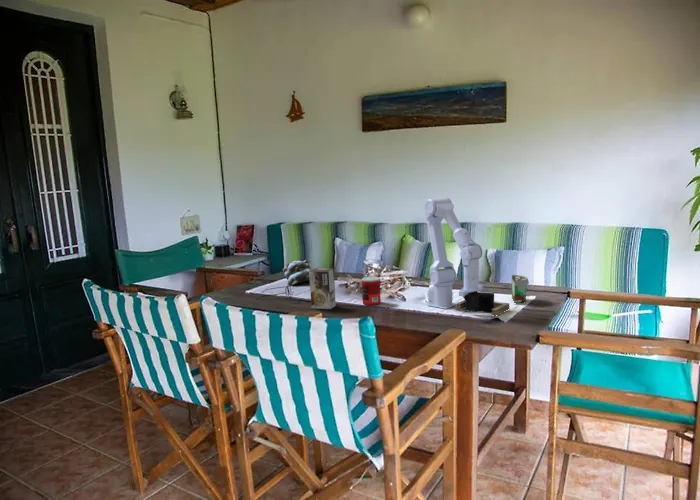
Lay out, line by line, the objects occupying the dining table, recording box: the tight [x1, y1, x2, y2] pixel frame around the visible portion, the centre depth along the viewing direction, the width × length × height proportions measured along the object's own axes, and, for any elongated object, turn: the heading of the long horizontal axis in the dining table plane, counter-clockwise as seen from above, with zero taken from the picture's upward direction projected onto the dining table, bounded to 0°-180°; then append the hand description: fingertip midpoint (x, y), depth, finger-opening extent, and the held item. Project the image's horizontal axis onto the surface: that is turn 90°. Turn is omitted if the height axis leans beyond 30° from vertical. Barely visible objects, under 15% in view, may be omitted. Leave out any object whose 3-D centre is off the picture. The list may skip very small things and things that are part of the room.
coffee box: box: [309, 267, 337, 310], centre depth 222 cm, size 9×6×16 cm
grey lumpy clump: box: [282, 258, 312, 287], centre depth 272 cm, size 15×12×14 cm
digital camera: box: [465, 291, 495, 313], centre depth 207 cm, size 10×5×7 cm, turn 67°
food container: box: [511, 274, 530, 304], centre depth 218 cm, size 12×6×10 cm, turn 168°
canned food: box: [361, 276, 382, 307], centre depth 225 cm, size 8×8×11 cm
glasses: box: [256, 282, 292, 300], centre depth 248 cm, size 14×15×5 cm
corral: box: [456, 299, 510, 317], centre depth 208 cm, size 17×11×3 cm, turn 46°
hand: (471, 311), depth 202 cm, fingers closed
